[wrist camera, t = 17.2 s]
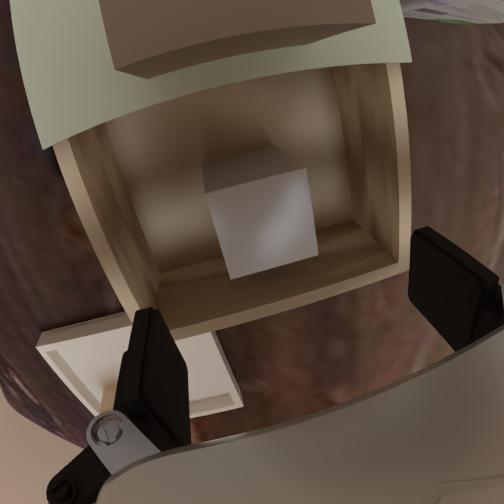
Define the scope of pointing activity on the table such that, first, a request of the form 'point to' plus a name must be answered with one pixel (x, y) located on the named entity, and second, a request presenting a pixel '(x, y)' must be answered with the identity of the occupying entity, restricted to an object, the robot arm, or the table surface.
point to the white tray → (110, 355)
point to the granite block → (260, 210)
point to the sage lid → (182, 50)
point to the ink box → (455, 10)
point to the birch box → (231, 143)
